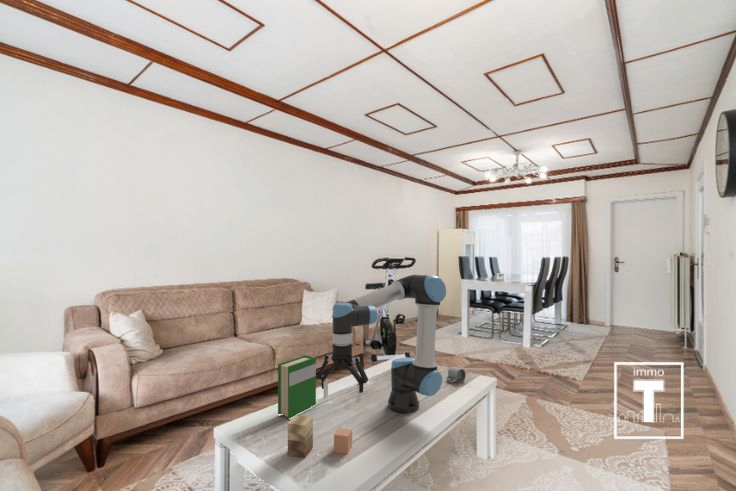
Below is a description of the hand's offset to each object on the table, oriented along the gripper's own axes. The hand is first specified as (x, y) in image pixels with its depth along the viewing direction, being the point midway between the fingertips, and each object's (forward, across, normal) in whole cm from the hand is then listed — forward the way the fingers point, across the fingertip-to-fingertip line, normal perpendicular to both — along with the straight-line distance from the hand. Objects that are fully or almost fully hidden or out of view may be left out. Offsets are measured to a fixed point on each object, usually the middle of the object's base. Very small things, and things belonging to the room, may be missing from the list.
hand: (342, 399), depth 139 cm
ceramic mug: (+19, -39, -87) cm, 97 cm away
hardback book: (+19, +32, -26) cm, 45 cm away
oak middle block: (+13, +14, +6) cm, 20 cm away
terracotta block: (+19, 0, 0) cm, 19 cm away
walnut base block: (+19, +14, +6) cm, 25 cm away
